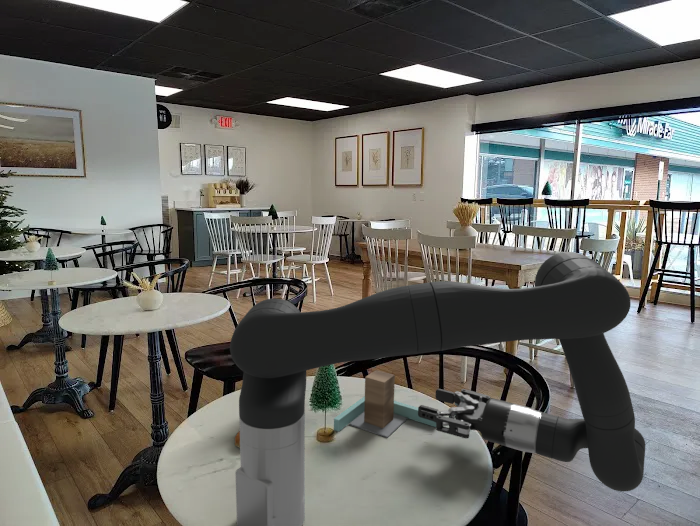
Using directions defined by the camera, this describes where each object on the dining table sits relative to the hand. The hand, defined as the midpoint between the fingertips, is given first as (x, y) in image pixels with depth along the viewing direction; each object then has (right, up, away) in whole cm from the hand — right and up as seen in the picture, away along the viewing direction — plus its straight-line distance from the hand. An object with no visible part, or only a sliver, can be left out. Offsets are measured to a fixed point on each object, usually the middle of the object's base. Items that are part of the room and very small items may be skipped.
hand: (427, 401), depth 92 cm
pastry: (-33, -7, +1) cm, 34 cm away
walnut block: (-9, -6, +7) cm, 13 cm away
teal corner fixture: (-7, -7, +5) cm, 11 cm away
